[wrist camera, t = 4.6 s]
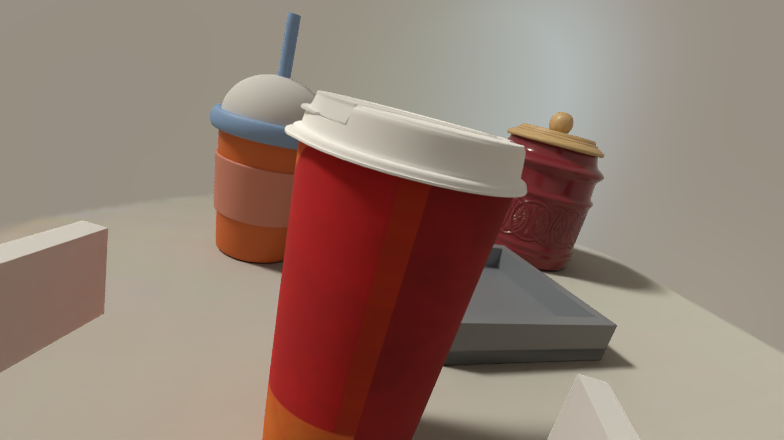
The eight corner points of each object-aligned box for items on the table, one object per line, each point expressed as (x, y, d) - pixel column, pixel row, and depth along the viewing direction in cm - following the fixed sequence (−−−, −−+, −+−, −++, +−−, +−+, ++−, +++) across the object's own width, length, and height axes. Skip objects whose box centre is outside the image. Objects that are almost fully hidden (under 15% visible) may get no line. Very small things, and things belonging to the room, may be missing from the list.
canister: (583, 267, 52) (641, 132, 47) (533, 279, 43) (598, 114, 38) (501, 228, 61) (542, 111, 56) (446, 231, 52) (489, 92, 47)
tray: (600, 359, 30) (617, 325, 29) (439, 365, 24) (454, 323, 23) (494, 271, 42) (504, 245, 41) (371, 261, 36) (379, 231, 36)
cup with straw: (239, 218, 38) (269, 16, 33) (326, 247, 37) (372, 41, 32) (167, 246, 30) (193, -22, 24) (277, 286, 28) (329, 11, 23)
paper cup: (404, 395, 21) (489, 131, 17) (438, 559, 14) (598, 167, 10) (251, 377, 20) (304, 83, 16) (198, 549, 12) (272, 83, 8)
